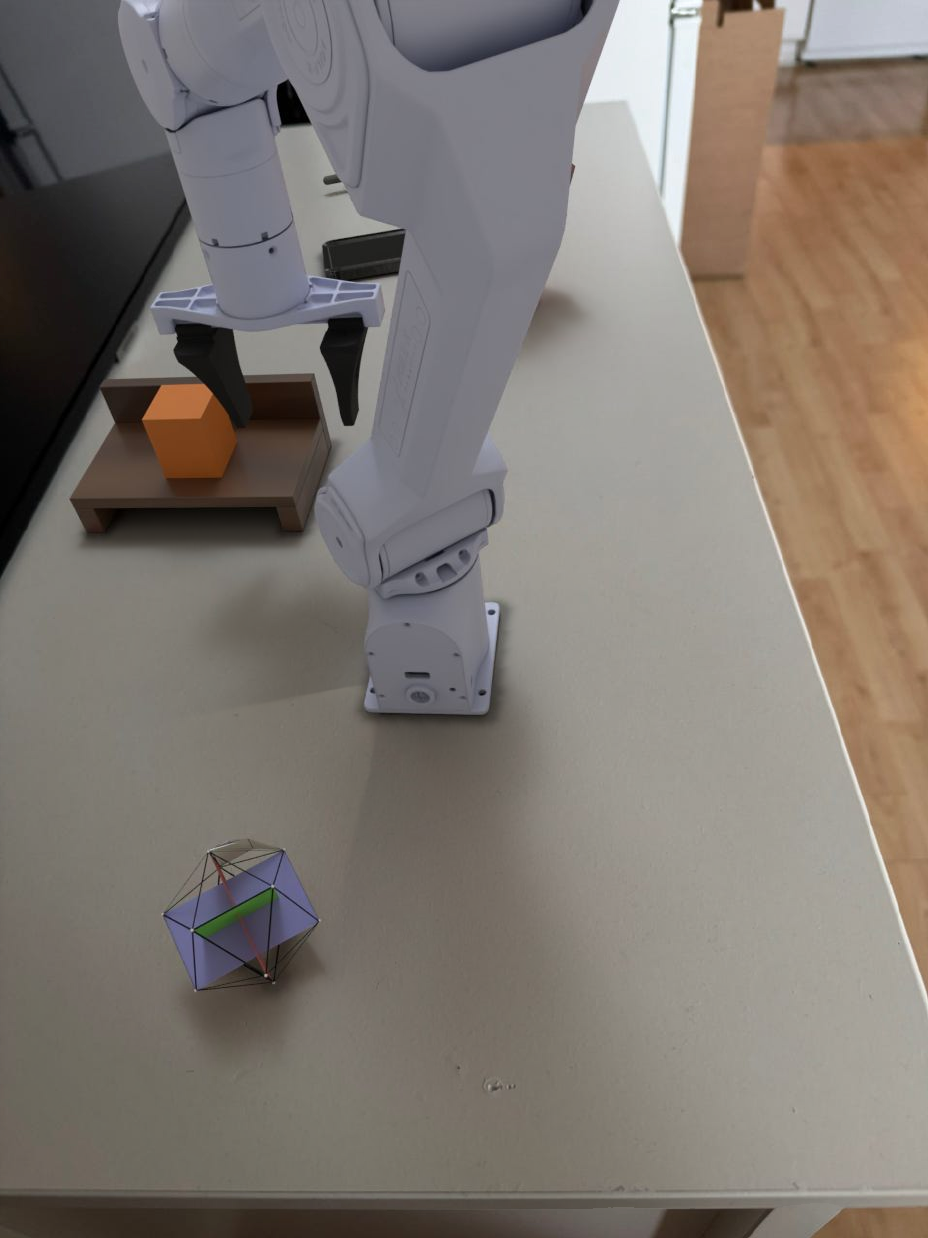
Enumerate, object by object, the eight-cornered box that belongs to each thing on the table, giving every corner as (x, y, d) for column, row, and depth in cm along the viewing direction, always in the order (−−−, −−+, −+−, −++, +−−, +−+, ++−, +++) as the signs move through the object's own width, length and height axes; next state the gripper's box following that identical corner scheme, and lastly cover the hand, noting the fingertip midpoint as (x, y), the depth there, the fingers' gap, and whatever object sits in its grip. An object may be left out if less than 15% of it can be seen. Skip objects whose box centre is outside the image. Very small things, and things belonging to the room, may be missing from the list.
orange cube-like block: (221, 477, 74) (200, 418, 70) (165, 478, 74) (141, 419, 70) (237, 441, 77) (218, 383, 73) (183, 442, 77) (161, 384, 73)
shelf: (303, 531, 74) (281, 458, 68) (86, 532, 76) (50, 462, 71) (331, 444, 81) (314, 372, 76) (133, 447, 84) (104, 378, 79)
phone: (321, 241, 106) (454, 219, 106) (323, 251, 106) (455, 229, 107) (324, 273, 100) (464, 250, 101) (327, 283, 101) (465, 260, 101)
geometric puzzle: (349, 977, 47) (282, 837, 45) (219, 1054, 45) (143, 910, 43) (320, 924, 53) (261, 800, 52) (206, 989, 51) (140, 862, 50)
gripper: (377, 189, 58) (408, 383, 67) (151, 202, 60) (214, 388, 69) (356, 243, 53) (393, 443, 63) (111, 255, 55) (184, 447, 65)
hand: (297, 418), depth 66 cm, fingers open, 7 cm apart
